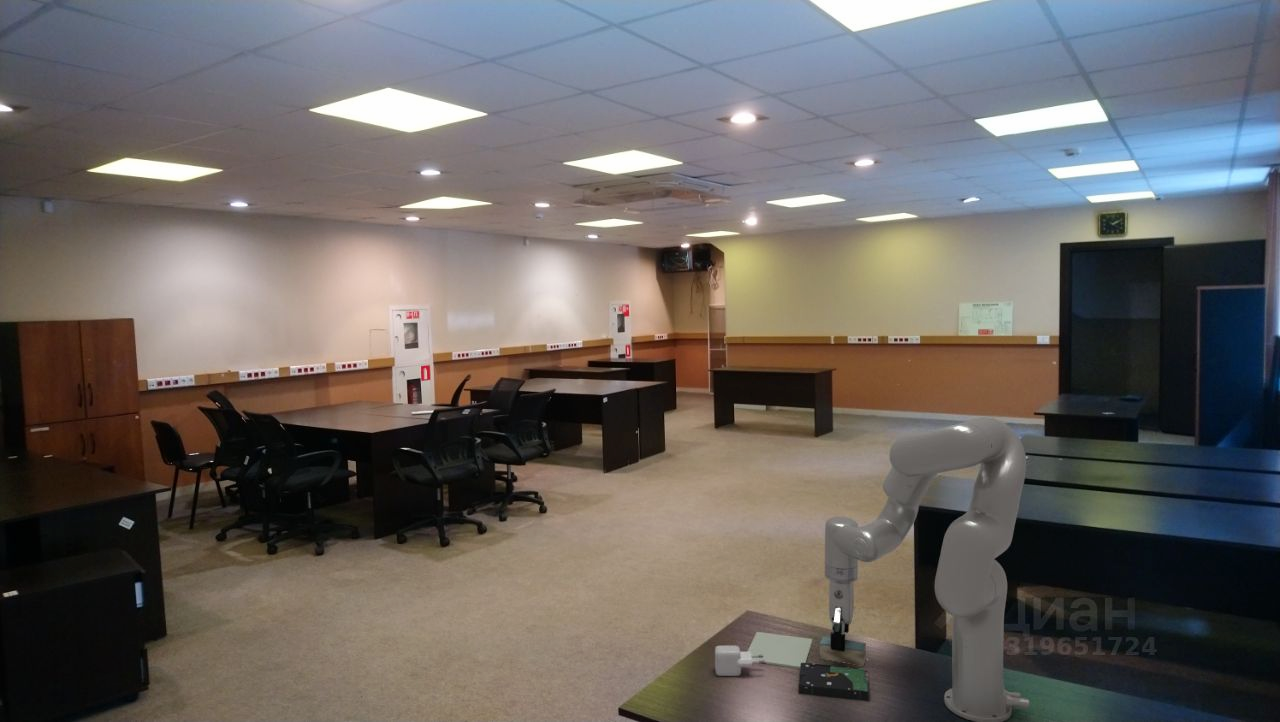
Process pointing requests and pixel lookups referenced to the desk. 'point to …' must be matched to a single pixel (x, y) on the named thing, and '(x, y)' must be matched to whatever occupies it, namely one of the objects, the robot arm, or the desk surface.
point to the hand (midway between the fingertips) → (839, 640)
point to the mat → (781, 649)
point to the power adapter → (733, 660)
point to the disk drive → (834, 681)
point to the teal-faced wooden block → (852, 653)
